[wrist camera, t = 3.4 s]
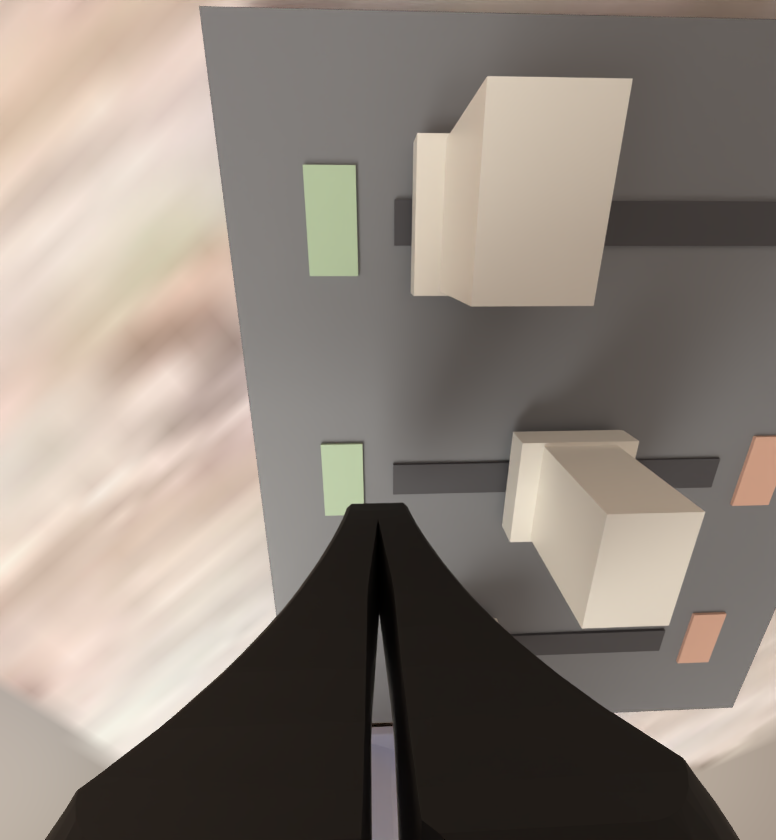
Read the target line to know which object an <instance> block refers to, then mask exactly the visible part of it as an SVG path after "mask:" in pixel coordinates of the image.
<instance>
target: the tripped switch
mask: <svg viewBox="0 0 776 840" xmlns="http://www.w3.org/2000/svg"><path fill="white" fill-rule="evenodd" d="M638 445H639V441H638V440H637V439H635V438H634V437H632V436H631V435H629V434H628V433H627V432H625V431H624V430H585V431H525V432H513V436H512V444H511V453H510V461H509V470H508V479H507V487H506V496H505V504H504V513H503V521H502V527H503V529H504V531H505V533H506V535H507V537H508V539H509V541H510V542H533V544H534V546H535V548H536V549H537V551H538V553H539V555H540V556H541V558H542V560H543V562H544V563H545V565H546V567H547V569H548V570H549V572H550V574H551V576H552V577H553V579H554V581H555V583H556V584H557V586H558V588H559V590H560V591H561V593H562V595H563V597H564V598H565V600H566V602H567V604H568V605H569V607H570V609H571V611H572V612H573V614H574V616H575V618H576V619H577V621H578V623H579V625H580V626H581V628H582V629H584V628H612V627H640V626H668V625H669V624H670V620H671V617H672V614H673V611H674V608H675V605H676V602H677V599H678V596H679V593H680V589H681V586H682V583H683V580H684V577H685V574H686V571H687V568H688V565H689V561H690V558H691V555H692V552H693V549H694V546H695V543H696V540H697V537H698V533H699V530H700V527H701V524H702V521H703V518H704V515H705V511H703V510H702V509H701V508H700V507H698V506H697V505H696V504H694V503H693V502H692V501H690V500H689V499H688V498H686V497H685V496H684V495H682V494H681V493H680V492H678V491H677V490H676V489H674V488H673V487H672V486H670V485H669V484H668V483H666V482H665V481H664V480H663V479H661V478H660V477H659V476H657V475H656V474H655V473H653V472H652V471H651V470H649V469H648V468H647V467H645V466H644V465H643V464H641V463H640V462H639V461H637V460H636V459H635V457H636V453H637V449H638Z"/></svg>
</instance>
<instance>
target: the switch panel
mask: <svg viewBox="0 0 776 840" xmlns="http://www.w3.org/2000/svg"><path fill="white" fill-rule="evenodd" d="M199 10H200V17H201V25H202V33H203V41H204V49H205V57H206V65H207V73H208V80H209V88H210V96H211V104H212V112H213V120H214V128H215V136H216V143H217V151H218V159H219V167H220V175H221V183H222V191H223V199H224V207H225V214H226V222H227V230H228V238H229V246H230V254H231V262H232V270H233V277H234V285H235V293H236V301H237V309H238V317H239V325H240V333H241V340H242V348H243V356H244V364H245V372H246V380H247V388H248V396H249V403H250V411H251V419H252V427H253V435H254V443H255V451H256V459H257V467H258V474H259V482H260V490H261V498H262V506H263V514H264V522H265V530H266V537H267V545H268V553H269V561H270V569H271V577H272V585H273V593H274V600H275V608H276V616H277V615H278V614H279V613H280V612H281V611H282V609H283V608H284V607H285V606H286V605H287V603H288V602H289V601H290V600H291V598H292V597H293V596H294V595H295V593H296V592H297V591H298V589H299V588H300V587H301V585H302V584H303V582H304V581H305V580H306V578H307V577H308V575H309V574H310V573H311V571H312V570H313V568H314V567H315V566H316V564H317V563H318V561H319V559H320V558H321V556H322V555H323V553H324V551H325V550H326V548H327V546H328V545H329V543H330V542H331V540H332V538H333V536H334V534H335V533H336V531H337V529H338V527H339V525H340V523H341V521H342V519H343V517H344V514H345V512H346V509H347V507H348V506H350V505H351V504H364V503H402V502H403V503H404V504H405V505H406V506H407V507H408V509H409V511H410V513H411V515H412V517H413V518H414V520H415V522H416V523H417V525H418V527H419V528H420V530H421V532H422V533H423V535H424V536H425V538H426V539H427V541H428V542H429V544H430V545H431V546H432V548H433V549H434V550H435V552H436V553H437V554H438V556H439V557H440V559H441V560H442V561H443V563H444V564H445V565H446V566H447V568H448V569H449V570H450V571H451V573H452V574H453V575H454V576H455V577H456V579H457V580H458V581H459V582H460V583H461V584H462V586H463V587H464V588H465V589H466V590H467V591H468V592H469V594H470V595H471V596H472V597H473V598H474V599H475V600H476V601H477V602H478V603H479V604H480V605H481V606H482V607H483V608H484V609H485V610H486V611H487V612H488V613H489V614H490V615H491V616H492V617H493V618H497V620H498V623H499V624H500V625H501V626H502V627H503V628H504V629H505V630H506V631H508V632H509V633H510V634H511V635H512V636H513V637H514V638H515V639H516V640H517V641H519V642H520V643H521V644H522V645H523V646H525V647H526V648H527V649H528V650H530V651H531V652H532V653H533V654H534V655H536V656H537V657H538V658H539V659H540V660H542V661H543V662H544V663H545V664H547V665H548V666H549V667H550V668H551V669H553V670H554V671H555V672H556V673H558V674H559V675H560V676H562V677H563V678H564V679H566V680H567V681H568V682H570V683H571V684H573V685H574V686H575V687H577V688H578V689H579V690H581V691H582V692H584V693H585V694H586V695H588V696H589V697H590V698H592V699H593V700H595V701H596V702H597V703H599V704H600V705H602V706H603V707H605V708H606V709H608V710H609V711H611V712H612V713H618V712H640V711H663V710H686V709H709V708H732V707H733V705H734V703H735V700H736V698H737V696H738V694H739V691H740V689H741V687H742V684H743V682H744V680H745V677H746V675H747V673H748V671H749V668H750V666H751V664H752V661H753V659H754V657H755V655H756V652H757V650H758V648H759V645H760V643H761V641H762V638H763V636H764V634H765V632H766V629H767V627H768V625H769V622H770V620H771V618H772V615H773V613H774V611H775V609H776V19H739V18H695V17H651V16H607V15H563V14H519V13H475V12H431V11H387V10H343V9H299V8H255V7H211V6H199ZM487 76H509V77H569V78H629V79H633V80H632V86H631V92H630V98H629V103H628V109H627V115H626V121H625V127H624V132H623V138H622V144H621V150H620V156H619V161H618V167H617V173H616V179H615V185H614V190H613V196H612V202H611V208H610V214H609V219H608V225H607V231H606V237H605V243H604V248H603V254H602V260H601V266H600V272H599V277H598V283H597V289H596V295H595V301H594V306H473V307H471V306H469V305H467V304H465V303H463V302H461V301H459V300H457V299H455V298H452V297H450V296H413V295H412V294H411V247H412V193H413V143H414V140H415V138H416V135H417V133H451V131H452V129H453V128H454V126H455V125H456V123H457V122H458V120H459V119H460V117H461V116H462V114H463V113H464V111H465V109H466V108H467V106H468V105H469V103H470V102H471V100H472V99H473V97H474V96H475V94H476V93H477V91H478V90H479V88H480V86H481V85H482V83H483V82H484V80H485V79H486V77H487ZM585 430H624V431H625V432H627V433H628V434H629V435H631V436H632V437H634V438H635V439H637V440H638V441H639V445H638V449H637V453H636V457H635V459H636V460H637V461H639V462H640V463H641V464H643V465H644V466H645V467H647V468H648V469H649V470H651V471H652V472H653V473H655V474H656V475H657V476H659V477H660V478H661V479H663V480H664V481H665V482H666V483H668V484H669V485H670V486H672V487H673V488H674V489H676V490H677V491H678V492H680V493H681V494H682V495H684V496H685V497H686V498H688V499H689V500H690V501H692V502H693V503H694V504H696V505H697V506H698V507H700V508H701V509H702V510H703V511H705V515H704V518H703V521H702V524H701V527H700V530H699V533H698V537H697V540H696V543H695V546H694V549H693V552H692V555H691V558H690V561H689V565H688V568H687V571H686V574H685V577H684V580H683V583H682V586H681V589H680V593H679V596H678V599H677V602H676V605H675V608H674V611H673V614H672V617H671V620H670V624H669V625H668V626H640V627H612V628H584V629H582V628H581V626H580V625H579V623H578V621H577V619H576V618H575V616H574V614H573V612H572V611H571V609H570V607H569V605H568V604H567V602H566V600H565V598H564V597H563V595H562V593H561V591H560V590H559V588H558V586H557V584H556V583H555V581H554V579H553V577H552V576H551V574H550V572H549V570H548V569H547V567H546V565H545V563H544V562H543V560H542V558H541V556H540V555H539V553H538V551H537V549H536V548H535V546H534V544H533V542H510V541H509V539H508V537H507V535H506V533H505V531H504V529H503V527H502V521H503V513H504V504H505V496H506V487H507V479H508V470H509V461H510V453H511V444H512V436H513V432H525V431H585ZM389 722H392V712H391V704H390V696H389V688H388V680H387V672H386V664H385V656H384V648H383V640H382V632H381V624H380V616H379V626H378V640H377V655H376V669H375V683H374V697H373V711H372V723H389Z"/></svg>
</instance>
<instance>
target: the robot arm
mask: <svg viewBox="0 0 776 840" xmlns="http://www.w3.org/2000/svg"><path fill="white" fill-rule="evenodd" d="M379 616H380V624H381V632H382V640H383V648H384V656H385V664H386V672H387V680H388V688H389V696H390V704H391V712H392V722H393V726H385V727H372V711H373V697H374V683H375V669H376V655H377V640H378V626H379ZM45 840H740V839H739V838H738V836H737V835H736V833H735V832H734V830H733V828H732V827H731V825H730V824H729V822H728V820H727V819H726V817H725V816H724V814H723V813H722V812H721V810H720V808H719V807H718V805H717V804H716V802H715V801H714V800H713V798H712V797H711V796H710V794H709V793H708V792H707V790H706V789H705V788H704V786H703V785H702V784H701V782H700V781H699V780H698V778H697V777H696V776H695V774H694V773H693V771H692V770H691V768H690V767H689V766H688V764H687V763H686V761H685V760H684V759H683V758H682V757H681V756H679V755H677V754H676V753H674V752H673V751H671V750H670V749H668V748H667V747H665V746H663V745H662V744H660V743H659V742H657V741H656V740H654V739H653V738H651V737H649V736H648V735H646V734H645V733H643V732H642V731H640V730H639V729H637V728H636V727H634V726H632V725H631V724H629V723H628V722H626V721H625V720H623V719H622V718H620V717H618V716H617V715H615V714H614V713H612V712H611V711H609V710H608V709H606V708H605V707H603V706H602V705H600V704H599V703H597V702H596V701H595V700H593V699H592V698H590V697H589V696H588V695H586V694H585V693H584V692H582V691H581V690H579V689H578V688H577V687H575V686H574V685H573V684H571V683H570V682H568V681H567V680H566V679H564V678H563V677H562V676H560V675H559V674H558V673H556V672H555V671H554V670H553V669H551V668H550V667H549V666H548V665H547V664H545V663H544V662H543V661H542V660H540V659H539V658H538V657H537V656H536V655H534V654H533V653H532V652H531V651H530V650H528V649H527V648H526V647H525V646H523V645H522V644H521V643H520V642H519V641H517V640H516V639H515V638H514V637H513V636H512V635H511V634H510V633H509V632H508V631H506V630H505V629H504V628H503V627H502V626H501V625H500V624H499V623H498V622H497V621H496V620H495V619H494V618H493V617H492V616H491V615H490V614H489V613H488V612H487V611H486V610H485V609H484V608H483V607H482V606H481V605H480V604H479V603H478V602H477V601H476V600H475V599H474V598H473V597H472V596H471V595H470V594H469V592H468V591H467V590H466V589H465V588H464V587H463V586H462V584H461V583H460V582H459V581H458V580H457V579H456V577H455V576H454V575H453V574H452V573H451V571H450V570H449V569H448V568H447V566H446V565H445V564H444V563H443V561H442V560H441V559H440V557H439V556H438V554H437V553H436V552H435V550H434V549H433V548H432V546H431V545H430V544H429V542H428V541H427V539H426V538H425V536H424V535H423V533H422V532H421V530H420V528H419V527H418V525H417V523H416V522H415V520H414V518H413V517H412V515H411V513H410V511H409V509H408V507H407V506H406V505H405V504H404V503H403V502H402V503H364V504H351V505H350V506H348V507H347V509H346V512H345V514H344V517H343V519H342V521H341V523H340V525H339V527H338V529H337V531H336V533H335V534H334V536H333V538H332V540H331V542H330V543H329V545H328V546H327V548H326V550H325V551H324V553H323V555H322V556H321V558H320V559H319V561H318V563H317V564H316V566H315V567H314V568H313V570H312V571H311V573H310V574H309V575H308V577H307V578H306V580H305V581H304V582H303V584H302V585H301V587H300V588H299V589H298V591H297V592H296V593H295V595H294V596H293V597H292V598H291V600H290V601H289V602H288V603H287V605H286V606H285V607H284V608H283V609H282V611H281V612H280V613H279V614H278V615H277V616H276V618H275V619H274V620H273V621H272V622H271V623H270V625H269V626H268V627H267V628H266V629H265V630H264V631H263V632H262V633H261V634H260V635H259V636H258V637H257V638H256V640H255V641H254V642H253V643H252V644H251V645H250V646H249V647H248V648H247V649H246V650H245V651H244V652H243V653H242V654H241V655H240V656H239V657H238V658H237V659H236V660H235V661H234V662H233V663H232V664H231V665H230V666H229V667H228V668H227V669H226V670H225V671H224V672H223V673H222V674H221V675H219V676H218V677H217V678H216V679H215V680H214V681H213V682H212V683H210V684H209V685H208V686H207V687H206V688H205V689H204V690H203V691H201V692H200V693H199V694H198V695H197V696H196V697H195V698H194V699H192V700H191V701H190V702H189V703H188V704H187V705H186V706H185V707H183V708H182V709H181V710H180V711H179V712H178V713H177V714H176V715H174V716H173V717H172V718H171V719H170V720H168V721H167V722H166V723H165V724H164V725H162V726H161V727H160V728H159V729H158V730H156V731H155V732H154V733H152V734H151V735H150V736H148V737H147V738H146V739H145V740H143V741H142V742H141V743H139V744H138V745H137V746H135V747H134V748H133V749H131V750H130V751H129V752H128V753H126V754H125V755H124V756H122V757H121V758H120V759H118V760H117V761H116V762H115V763H113V764H112V765H111V766H109V767H108V768H107V769H105V770H104V771H103V772H102V773H100V774H99V775H98V776H96V777H95V778H94V779H92V780H91V781H90V782H88V783H87V784H85V785H84V786H83V787H81V788H80V789H78V790H77V791H76V793H75V795H74V796H73V798H72V800H71V801H70V803H69V805H68V806H67V808H66V809H65V811H64V812H63V814H62V815H61V817H60V818H59V820H58V821H57V823H56V824H55V826H54V827H53V829H52V830H51V831H50V833H49V834H48V836H47V837H46V839H45Z"/></svg>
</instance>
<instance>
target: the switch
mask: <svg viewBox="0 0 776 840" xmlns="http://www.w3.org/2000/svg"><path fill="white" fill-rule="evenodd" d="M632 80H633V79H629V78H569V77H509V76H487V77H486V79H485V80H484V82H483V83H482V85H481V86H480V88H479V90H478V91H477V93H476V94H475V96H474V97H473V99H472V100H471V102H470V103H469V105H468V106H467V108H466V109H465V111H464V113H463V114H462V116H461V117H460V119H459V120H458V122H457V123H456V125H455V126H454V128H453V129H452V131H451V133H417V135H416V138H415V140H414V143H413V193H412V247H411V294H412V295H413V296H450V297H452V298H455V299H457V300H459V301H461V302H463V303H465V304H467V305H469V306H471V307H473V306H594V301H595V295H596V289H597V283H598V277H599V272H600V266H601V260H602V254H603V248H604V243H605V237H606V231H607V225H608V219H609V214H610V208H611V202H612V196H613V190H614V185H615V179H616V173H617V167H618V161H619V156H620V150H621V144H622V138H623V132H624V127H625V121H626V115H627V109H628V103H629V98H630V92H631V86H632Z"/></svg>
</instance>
